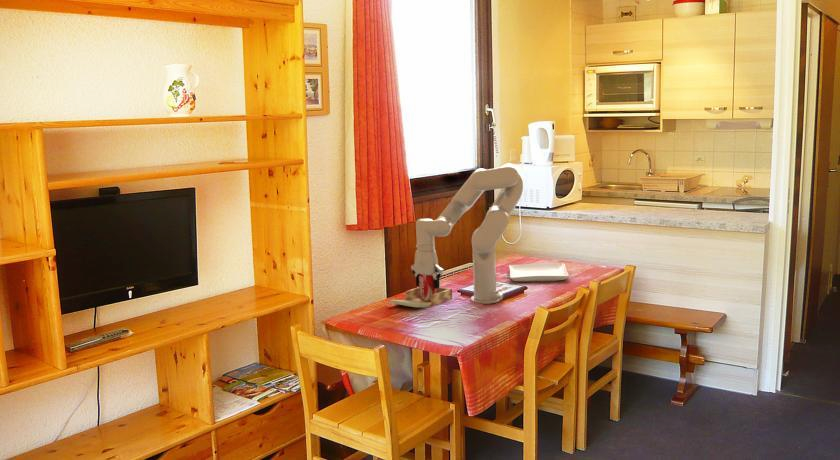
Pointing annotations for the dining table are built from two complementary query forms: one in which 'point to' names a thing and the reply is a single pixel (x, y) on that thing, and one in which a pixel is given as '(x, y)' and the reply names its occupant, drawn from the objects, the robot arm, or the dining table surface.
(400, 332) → the dining table surface
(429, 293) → the soda can
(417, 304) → the panel
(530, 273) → the square plate
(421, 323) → the dining table surface
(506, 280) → the dining table surface
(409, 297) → the crate
